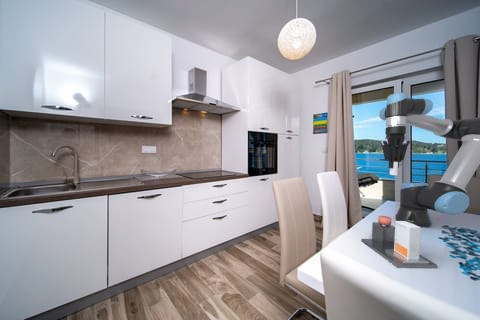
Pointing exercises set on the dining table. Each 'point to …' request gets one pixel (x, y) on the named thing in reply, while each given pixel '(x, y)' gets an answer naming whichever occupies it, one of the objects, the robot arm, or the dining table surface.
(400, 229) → the skincare box
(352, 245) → the dining table surface
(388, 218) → the plunger
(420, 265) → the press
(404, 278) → the dining table surface
